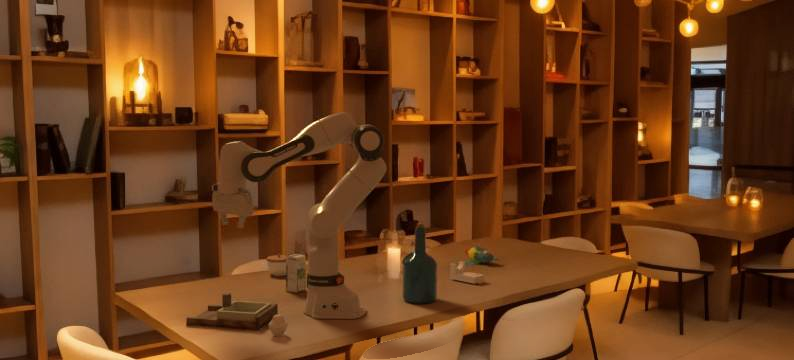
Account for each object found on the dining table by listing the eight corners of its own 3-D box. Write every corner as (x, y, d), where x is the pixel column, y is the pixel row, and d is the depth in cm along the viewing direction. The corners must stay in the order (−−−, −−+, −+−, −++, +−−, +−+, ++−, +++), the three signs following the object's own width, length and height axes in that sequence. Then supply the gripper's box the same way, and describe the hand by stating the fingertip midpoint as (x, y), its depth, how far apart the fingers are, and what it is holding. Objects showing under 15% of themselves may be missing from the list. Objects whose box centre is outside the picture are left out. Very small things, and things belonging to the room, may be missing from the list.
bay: (277, 316, 258) (277, 303, 257) (258, 330, 241) (258, 317, 240) (209, 311, 263) (209, 299, 262) (186, 325, 246) (186, 312, 245)
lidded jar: (287, 277, 317) (287, 256, 316) (263, 276, 319) (263, 255, 318) (294, 272, 327) (294, 252, 327) (271, 271, 329) (271, 251, 328)
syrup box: (294, 288, 298) (294, 253, 297) (306, 290, 295) (306, 255, 294) (285, 291, 293) (285, 255, 292) (297, 293, 290) (297, 257, 289)
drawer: (271, 314, 256) (271, 291, 255) (255, 325, 243) (255, 301, 242) (231, 311, 259) (231, 289, 258) (214, 322, 246) (213, 299, 245)
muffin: (291, 335, 236) (291, 314, 235) (276, 339, 232) (276, 318, 231) (279, 331, 240) (279, 310, 240) (264, 335, 236) (264, 314, 235)
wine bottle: (428, 294, 290) (429, 220, 287) (442, 303, 277) (443, 225, 275) (396, 297, 285) (396, 221, 282) (409, 306, 273) (409, 227, 270)
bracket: (450, 280, 315) (450, 263, 315) (460, 278, 321) (460, 261, 320) (474, 285, 307) (474, 268, 306) (484, 283, 312) (484, 265, 311)
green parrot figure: (488, 240, 365) (510, 246, 354) (487, 257, 366) (509, 263, 355) (446, 247, 348) (469, 252, 336) (446, 264, 349) (468, 271, 337)
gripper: (257, 189, 251) (257, 229, 252) (224, 184, 265) (224, 222, 266) (242, 190, 246) (242, 231, 247) (209, 185, 260) (209, 223, 261)
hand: (232, 226), depth 257 cm, fingers open, 8 cm apart
